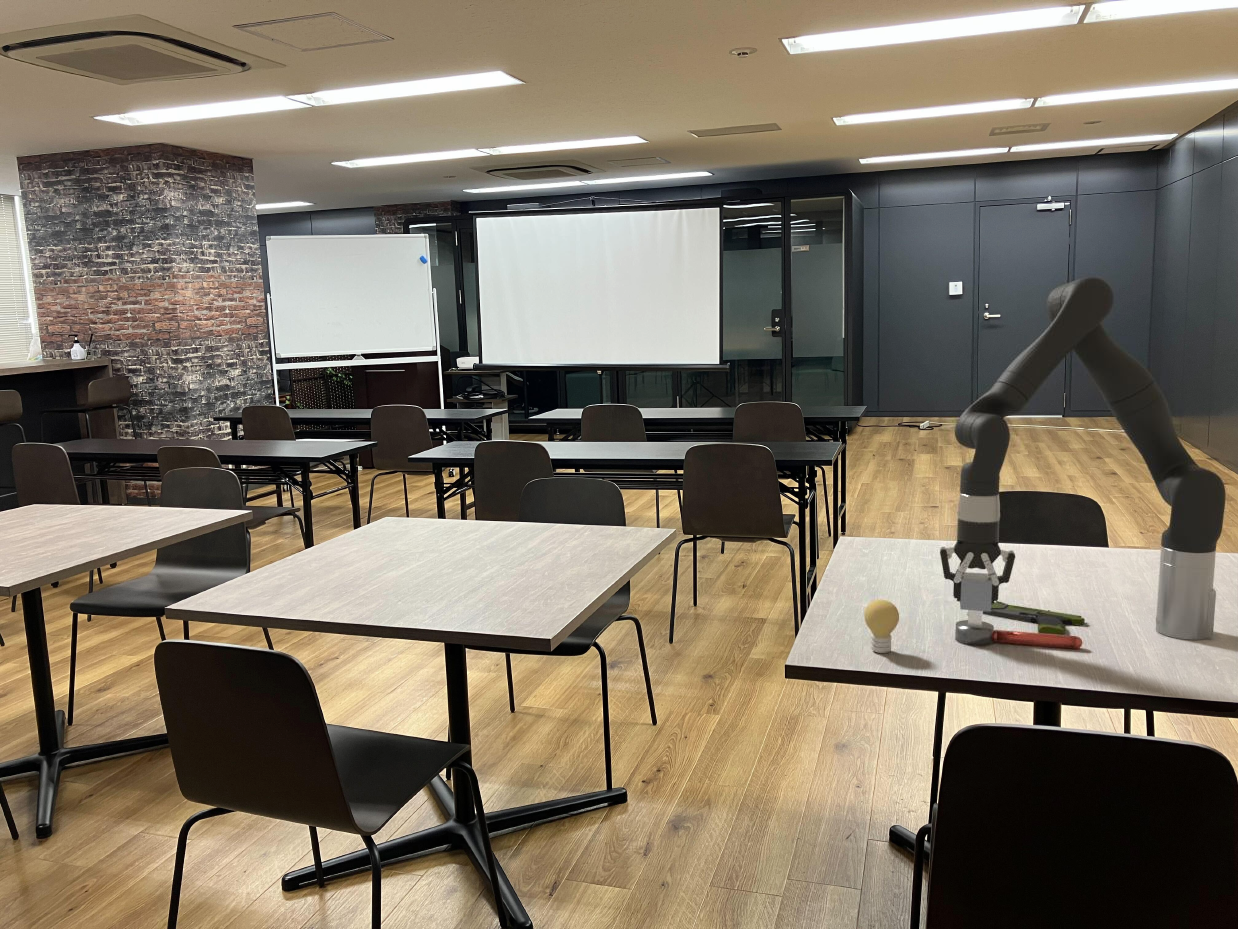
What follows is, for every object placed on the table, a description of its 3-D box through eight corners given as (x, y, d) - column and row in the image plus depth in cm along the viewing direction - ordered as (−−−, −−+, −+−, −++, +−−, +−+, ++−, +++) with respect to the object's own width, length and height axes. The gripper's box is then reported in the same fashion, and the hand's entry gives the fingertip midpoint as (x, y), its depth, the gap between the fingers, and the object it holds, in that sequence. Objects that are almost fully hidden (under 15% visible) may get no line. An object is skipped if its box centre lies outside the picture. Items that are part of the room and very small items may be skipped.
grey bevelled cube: (989, 603, 187) (990, 573, 186) (990, 611, 182) (992, 581, 181) (959, 601, 188) (961, 572, 188) (960, 609, 183) (961, 579, 182)
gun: (967, 625, 197) (993, 610, 208) (1065, 642, 185) (1086, 624, 196) (968, 613, 197) (993, 598, 208) (1065, 629, 184) (1087, 612, 196)
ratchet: (1079, 643, 183) (1081, 605, 182) (1084, 655, 177) (1086, 616, 175) (955, 633, 190) (956, 597, 189) (955, 644, 184) (956, 607, 183)
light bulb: (892, 645, 184) (893, 595, 183) (903, 656, 178) (904, 605, 177) (859, 646, 184) (860, 596, 183) (869, 657, 178) (870, 606, 176)
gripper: (1017, 514, 184) (1013, 599, 186) (939, 511, 188) (936, 593, 191) (1020, 522, 177) (1016, 610, 179) (938, 518, 181) (936, 604, 184)
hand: (975, 601), depth 185 cm, fingers closed on grey bevelled cube, 5 cm apart
